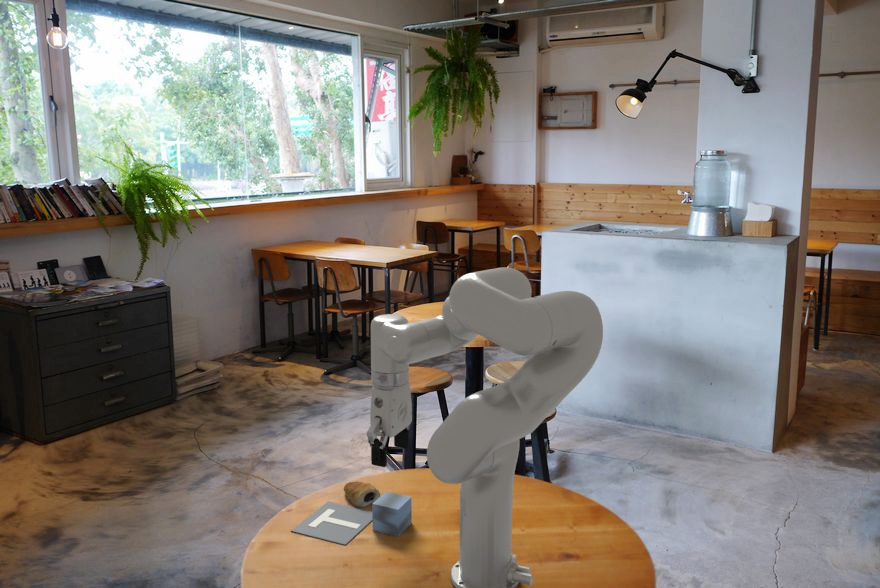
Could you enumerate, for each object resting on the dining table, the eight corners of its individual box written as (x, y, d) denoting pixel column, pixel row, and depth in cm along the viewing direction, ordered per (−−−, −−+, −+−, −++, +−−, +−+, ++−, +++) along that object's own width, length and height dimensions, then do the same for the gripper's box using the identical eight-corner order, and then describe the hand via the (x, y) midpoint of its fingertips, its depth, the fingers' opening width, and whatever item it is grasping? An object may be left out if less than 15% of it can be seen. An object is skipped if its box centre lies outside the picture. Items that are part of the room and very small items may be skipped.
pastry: (336, 494, 174) (336, 478, 173) (361, 486, 178) (361, 471, 177) (358, 510, 167) (358, 494, 166) (384, 501, 171) (384, 485, 170)
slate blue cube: (411, 523, 161) (411, 496, 160) (398, 536, 156) (398, 509, 154) (386, 517, 163) (386, 491, 162) (372, 530, 158) (372, 503, 157)
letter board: (379, 513, 165) (379, 512, 164) (345, 545, 152) (345, 543, 152) (327, 502, 170) (327, 500, 170) (291, 531, 157) (291, 530, 157)
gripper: (386, 392, 144) (386, 476, 147) (425, 367, 159) (425, 443, 163) (351, 386, 147) (353, 469, 150) (393, 362, 162) (393, 437, 166)
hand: (390, 456), depth 156 cm, fingers open, 9 cm apart
